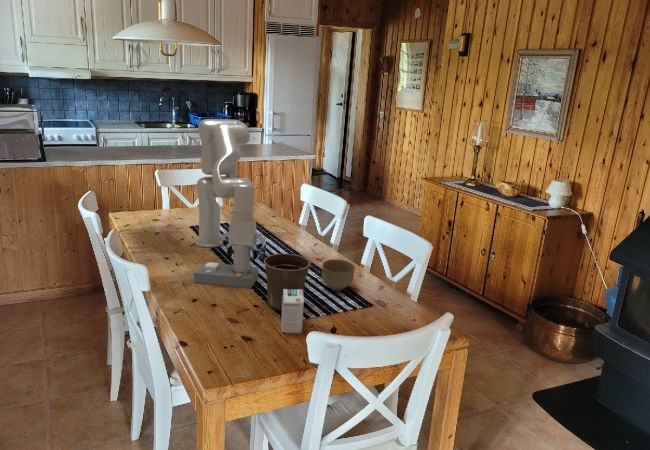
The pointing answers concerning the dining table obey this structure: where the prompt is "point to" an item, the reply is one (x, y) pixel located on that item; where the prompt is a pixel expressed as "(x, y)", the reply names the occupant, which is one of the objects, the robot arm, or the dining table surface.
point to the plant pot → (284, 276)
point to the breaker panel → (226, 276)
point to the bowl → (337, 273)
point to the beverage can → (241, 258)
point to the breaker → (212, 266)
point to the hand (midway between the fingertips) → (242, 258)
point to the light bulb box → (292, 311)
